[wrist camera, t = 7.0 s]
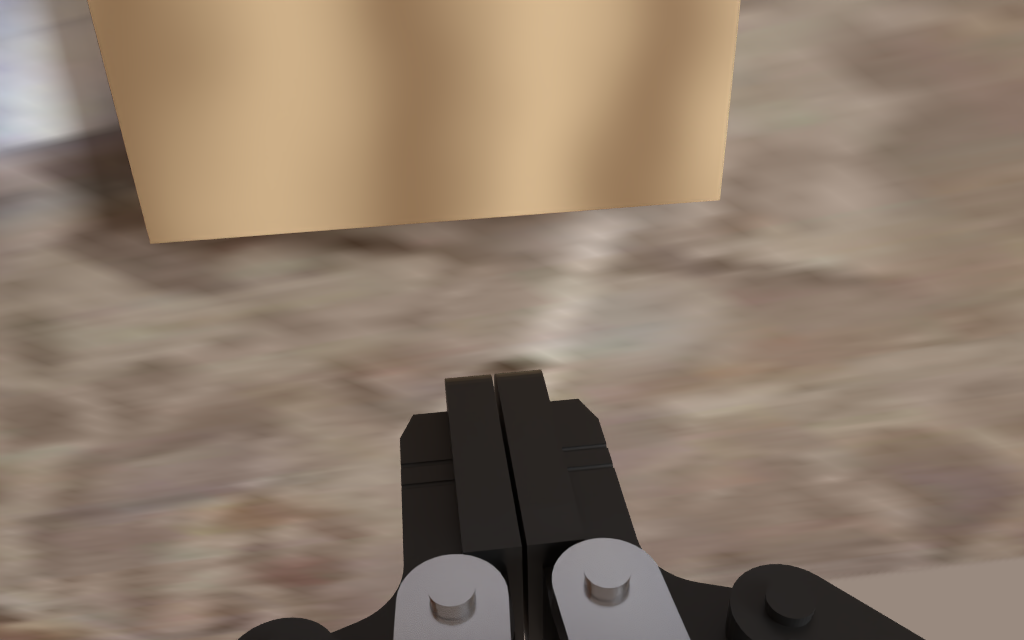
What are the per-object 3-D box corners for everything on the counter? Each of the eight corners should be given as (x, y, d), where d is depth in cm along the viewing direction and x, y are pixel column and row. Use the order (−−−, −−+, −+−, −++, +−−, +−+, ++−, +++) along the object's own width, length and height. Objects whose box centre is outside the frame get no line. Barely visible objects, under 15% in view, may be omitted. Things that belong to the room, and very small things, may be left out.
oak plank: (723, -104, 24) (749, -95, 22) (698, 174, 28) (719, 200, 26) (93, -77, 22) (70, -65, 20) (164, 213, 26) (150, 243, 24)
